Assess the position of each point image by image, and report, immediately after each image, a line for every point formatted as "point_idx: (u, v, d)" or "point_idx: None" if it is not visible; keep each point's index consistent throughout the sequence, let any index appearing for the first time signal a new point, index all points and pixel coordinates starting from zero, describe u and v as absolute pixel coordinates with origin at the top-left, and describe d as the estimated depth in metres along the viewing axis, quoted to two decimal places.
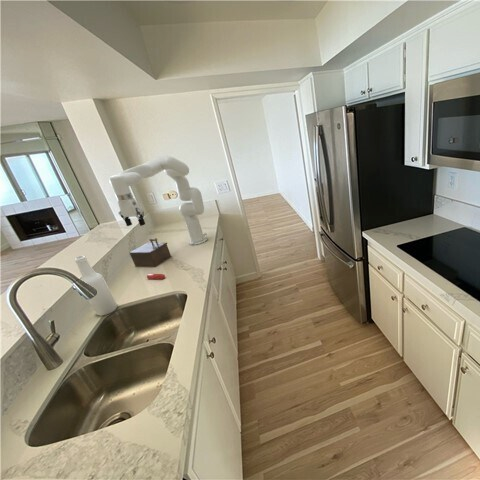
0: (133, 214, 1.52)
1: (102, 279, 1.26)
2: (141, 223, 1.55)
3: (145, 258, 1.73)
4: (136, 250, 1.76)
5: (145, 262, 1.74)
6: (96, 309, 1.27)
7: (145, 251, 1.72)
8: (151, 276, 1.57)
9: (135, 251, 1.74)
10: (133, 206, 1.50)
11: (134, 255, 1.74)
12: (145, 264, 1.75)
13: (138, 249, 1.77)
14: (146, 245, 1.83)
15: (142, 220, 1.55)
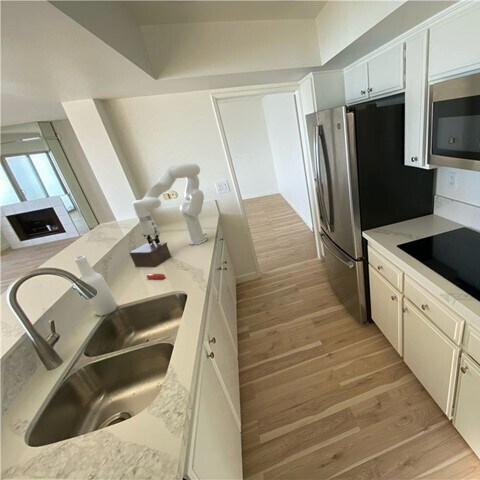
0: (152, 233, 1.77)
1: (102, 279, 1.26)
2: (157, 242, 1.81)
3: (145, 258, 1.73)
4: (136, 250, 1.76)
5: (145, 262, 1.74)
6: (96, 309, 1.27)
7: (145, 251, 1.72)
8: (151, 276, 1.57)
9: (135, 251, 1.74)
10: (152, 226, 1.76)
11: (134, 255, 1.74)
12: (145, 264, 1.75)
13: (138, 249, 1.77)
14: (146, 245, 1.83)
15: (157, 239, 1.81)
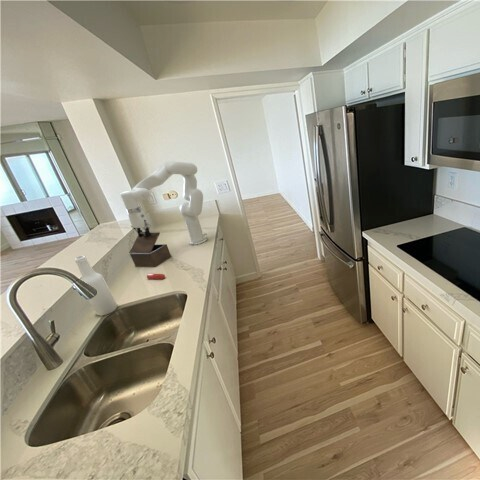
0: (142, 225, 1.70)
1: (102, 279, 1.26)
2: (147, 235, 1.74)
3: (145, 258, 1.73)
4: (134, 248, 1.74)
5: (145, 262, 1.74)
6: (96, 309, 1.27)
7: (144, 250, 1.72)
8: (151, 276, 1.57)
9: (134, 250, 1.74)
10: (142, 218, 1.69)
11: (134, 255, 1.74)
12: (145, 264, 1.75)
13: (135, 246, 1.75)
14: (140, 238, 1.78)
15: (148, 232, 1.74)
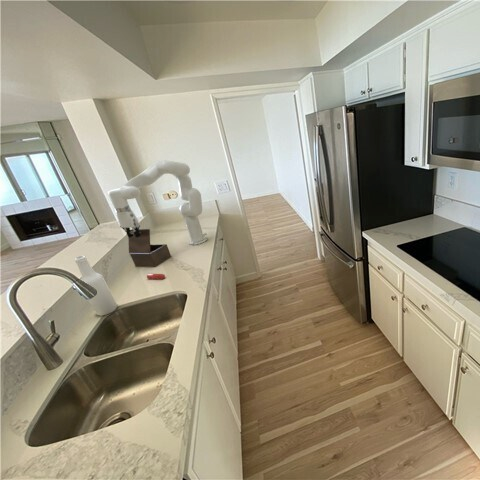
0: (131, 225, 1.63)
1: (102, 279, 1.26)
2: (136, 235, 1.67)
3: (145, 258, 1.73)
4: (132, 248, 1.73)
5: (145, 262, 1.74)
6: (96, 309, 1.27)
7: (143, 250, 1.71)
8: (151, 276, 1.57)
9: (133, 250, 1.73)
10: (131, 218, 1.61)
11: (134, 255, 1.74)
12: (145, 264, 1.75)
13: (132, 246, 1.73)
14: None
15: (137, 232, 1.67)
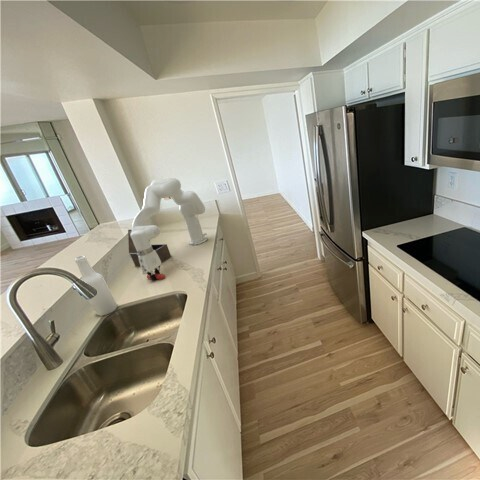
0: None
1: (102, 279, 1.26)
2: None
3: None
4: (132, 248, 1.73)
5: None
6: (96, 309, 1.27)
7: None
8: None
9: (133, 250, 1.73)
10: (140, 263, 1.49)
11: (134, 255, 1.74)
12: None
13: (132, 246, 1.73)
14: None
15: (151, 276, 1.55)
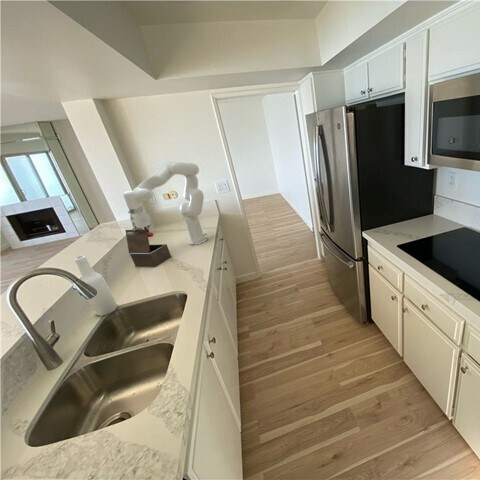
0: None
1: (102, 279, 1.26)
2: None
3: (145, 258, 1.73)
4: (131, 248, 1.72)
5: (145, 262, 1.74)
6: (96, 309, 1.27)
7: (143, 250, 1.71)
8: None
9: (132, 250, 1.73)
10: (131, 220, 1.68)
11: (134, 255, 1.74)
12: (145, 264, 1.75)
13: (131, 246, 1.72)
14: (129, 236, 1.71)
15: None
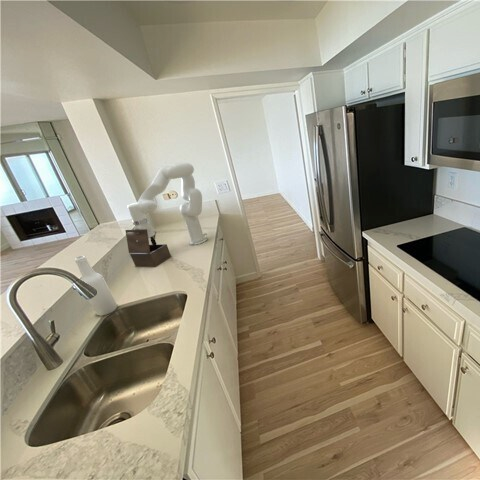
0: None
1: (102, 279, 1.26)
2: None
3: (145, 258, 1.73)
4: (131, 248, 1.72)
5: (145, 262, 1.74)
6: (96, 309, 1.27)
7: (143, 250, 1.71)
8: None
9: (132, 250, 1.73)
10: None
11: (134, 255, 1.74)
12: (145, 264, 1.75)
13: (131, 246, 1.72)
14: (129, 236, 1.71)
15: None
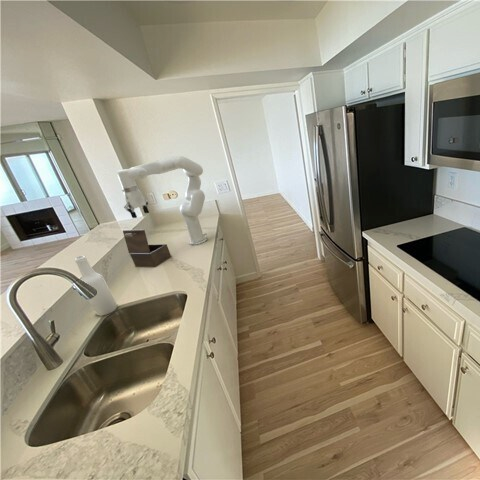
0: None
1: (102, 279, 1.26)
2: None
3: (145, 258, 1.73)
4: (131, 248, 1.72)
5: (145, 262, 1.74)
6: (96, 309, 1.27)
7: (142, 251, 1.70)
8: None
9: (132, 251, 1.72)
10: (126, 200, 1.65)
11: (134, 255, 1.74)
12: (145, 264, 1.75)
13: (130, 246, 1.72)
14: (127, 236, 1.70)
15: (132, 214, 1.67)
